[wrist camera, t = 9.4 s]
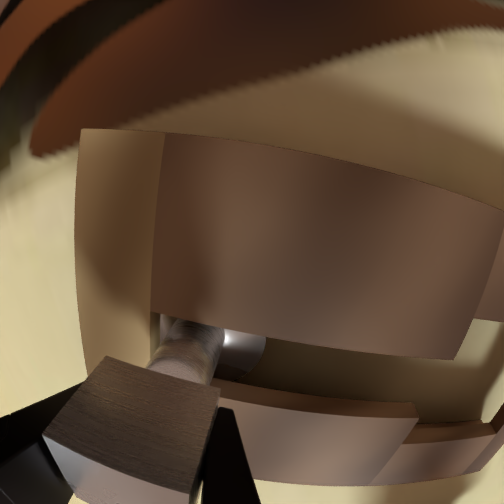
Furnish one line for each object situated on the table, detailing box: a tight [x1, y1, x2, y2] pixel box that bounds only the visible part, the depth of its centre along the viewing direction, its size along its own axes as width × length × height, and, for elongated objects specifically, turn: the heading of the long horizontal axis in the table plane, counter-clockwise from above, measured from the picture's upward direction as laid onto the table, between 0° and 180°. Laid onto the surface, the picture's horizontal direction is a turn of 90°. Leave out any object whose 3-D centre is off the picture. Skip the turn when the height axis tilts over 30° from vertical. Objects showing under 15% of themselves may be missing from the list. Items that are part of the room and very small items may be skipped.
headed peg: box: [42, 314, 266, 504], centre depth 8 cm, size 5×5×8 cm
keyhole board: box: [74, 129, 504, 486], centre depth 11 cm, size 22×14×3 cm, turn 81°
